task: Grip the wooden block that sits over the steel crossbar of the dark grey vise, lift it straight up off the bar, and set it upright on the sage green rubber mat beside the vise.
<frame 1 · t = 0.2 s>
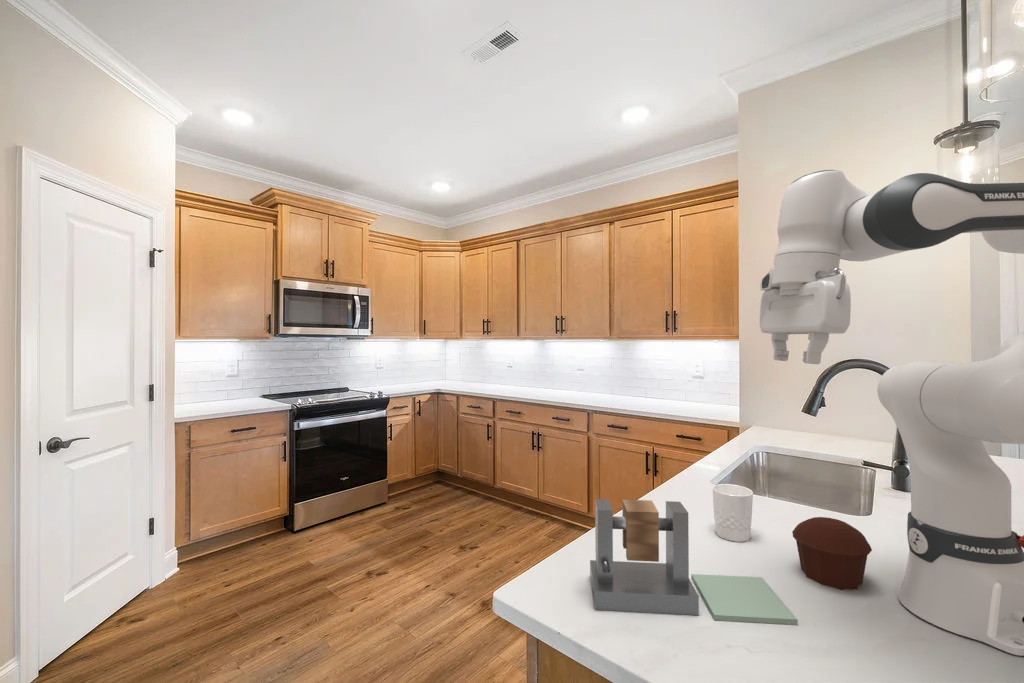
hand: (794, 362, 72), 39 cm above the countertop, tool pointing down, fingers open, 8 cm apart
white cup: (732, 536, 98), on the countertop
muffin: (830, 577, 81), on the countertop
wooden block: (640, 553, 76), point 7 cm above the countertop, touching vise
mat: (739, 599, 74), on the countertop
vise: (640, 594, 76), on the countertop
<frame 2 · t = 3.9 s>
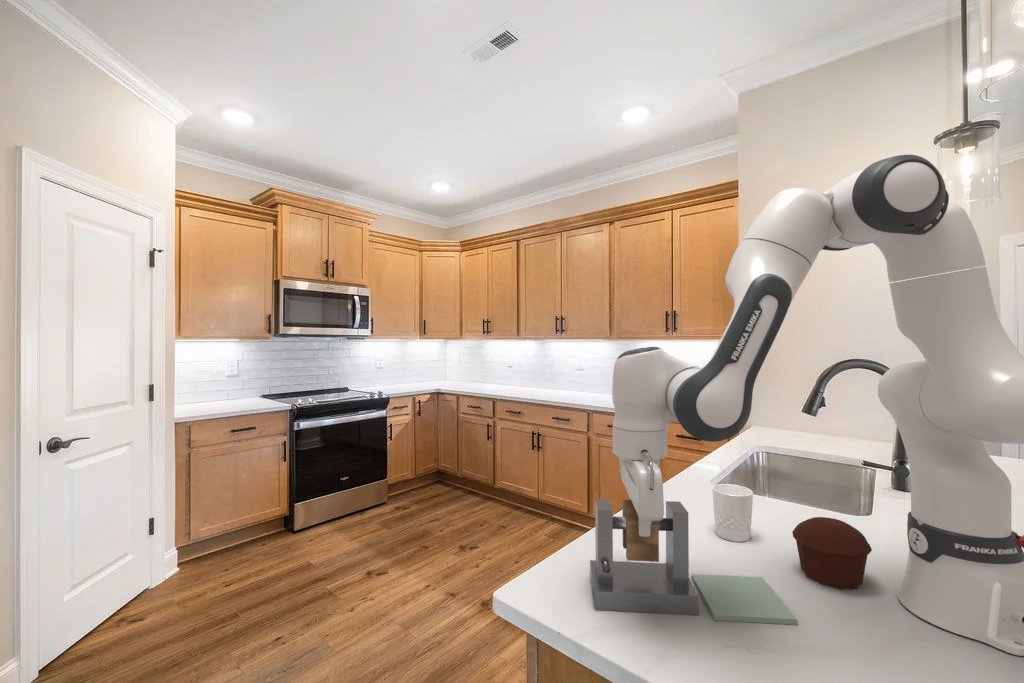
hand: (640, 525, 76), 12 cm above the countertop, tool pointing down, fingers closed on wooden block, 5 cm apart
wooden block: (640, 553, 76), point 7 cm above the countertop, touching gripper, vise
everything else where it was.
when the fingers open (7 cm above the countertop, at t = 12.3 s): wooden block drops 1 cm, resting on mat.
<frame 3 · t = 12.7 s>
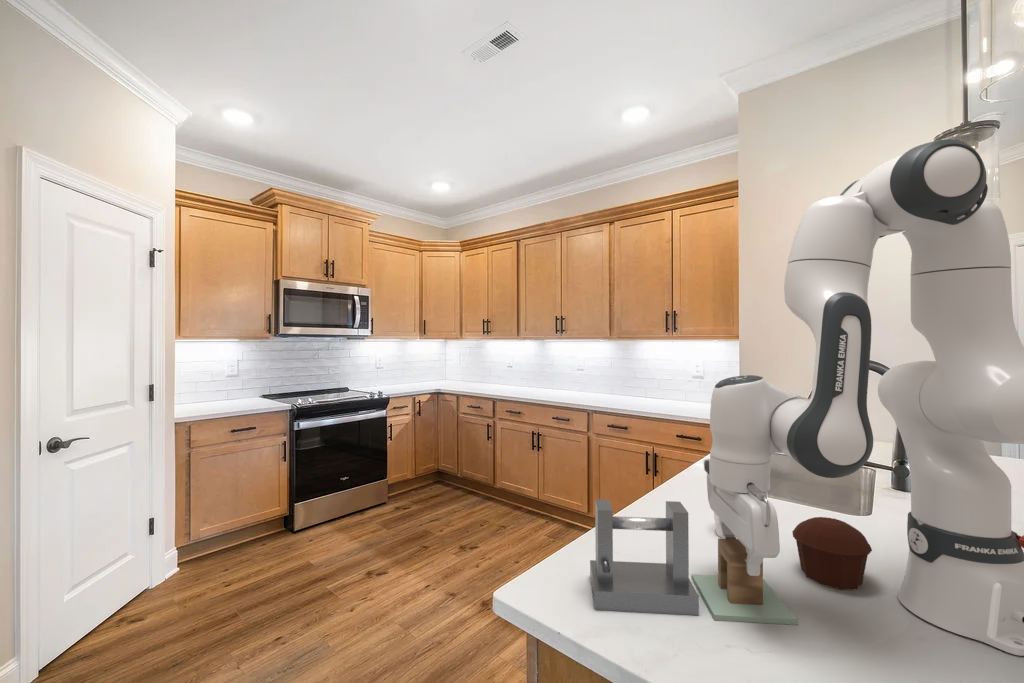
hand: (739, 558, 74), 7 cm above the countertop, tool pointing down, fingers open, 8 cm apart
wooden block: (739, 594, 74), point 1 cm above the countertop, touching mat
everything else where it was.
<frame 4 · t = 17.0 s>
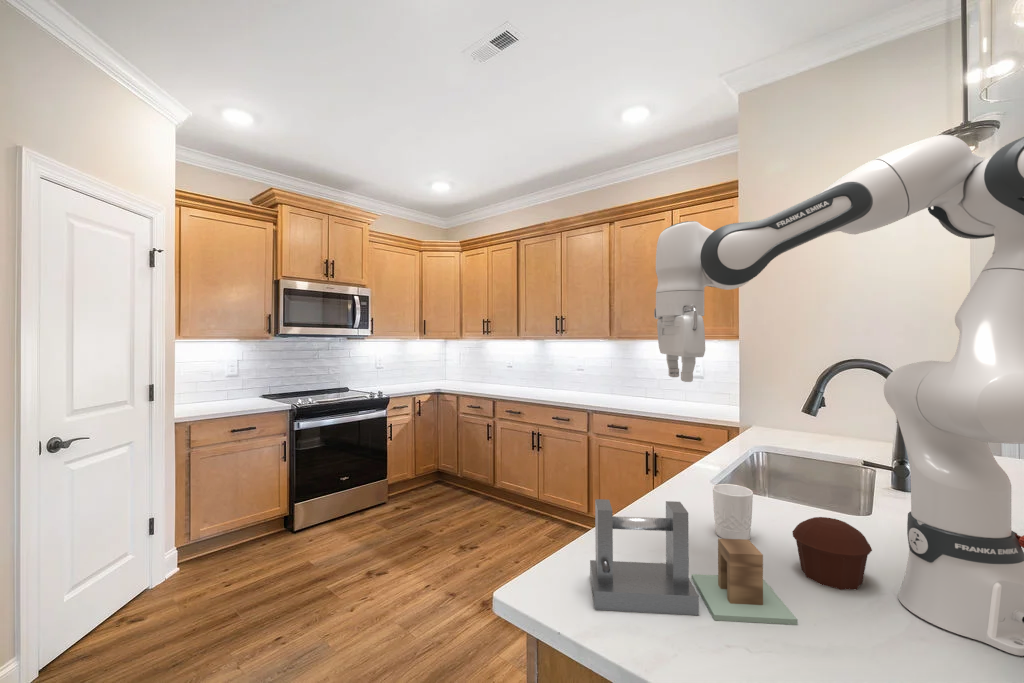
hand: (679, 379, 88), 35 cm above the countertop, tool pointing down, fingers open, 8 cm apart
nothing on the countertop moved.
at the end: wooden block inside the target area on the mat (0.0 cm from its centre), point 0.8 cm above the mat's base; wooden block tilted 0°; wooden block touching mat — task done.
